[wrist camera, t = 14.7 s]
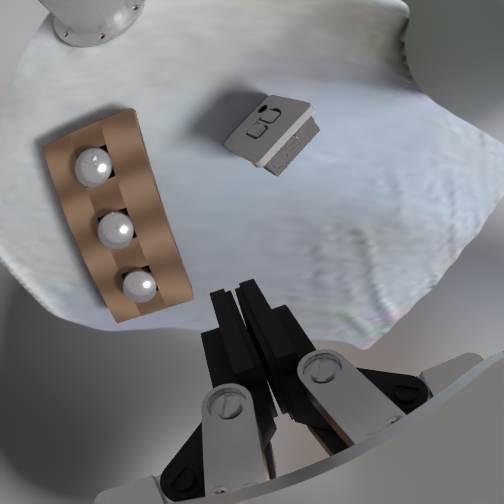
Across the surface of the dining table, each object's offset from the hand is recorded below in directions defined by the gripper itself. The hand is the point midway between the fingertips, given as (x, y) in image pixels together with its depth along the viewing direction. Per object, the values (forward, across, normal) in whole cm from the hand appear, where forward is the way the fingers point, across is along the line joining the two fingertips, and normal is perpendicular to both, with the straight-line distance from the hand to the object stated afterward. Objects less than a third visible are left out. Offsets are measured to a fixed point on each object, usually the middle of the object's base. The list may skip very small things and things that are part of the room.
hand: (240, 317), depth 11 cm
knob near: (+29, +10, -6) cm, 31 cm away
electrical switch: (+29, -11, -4) cm, 32 cm away
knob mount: (+29, +10, +2) cm, 31 cm away
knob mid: (+29, +10, +2) cm, 30 cm away
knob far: (+29, +10, +10) cm, 32 cm away
